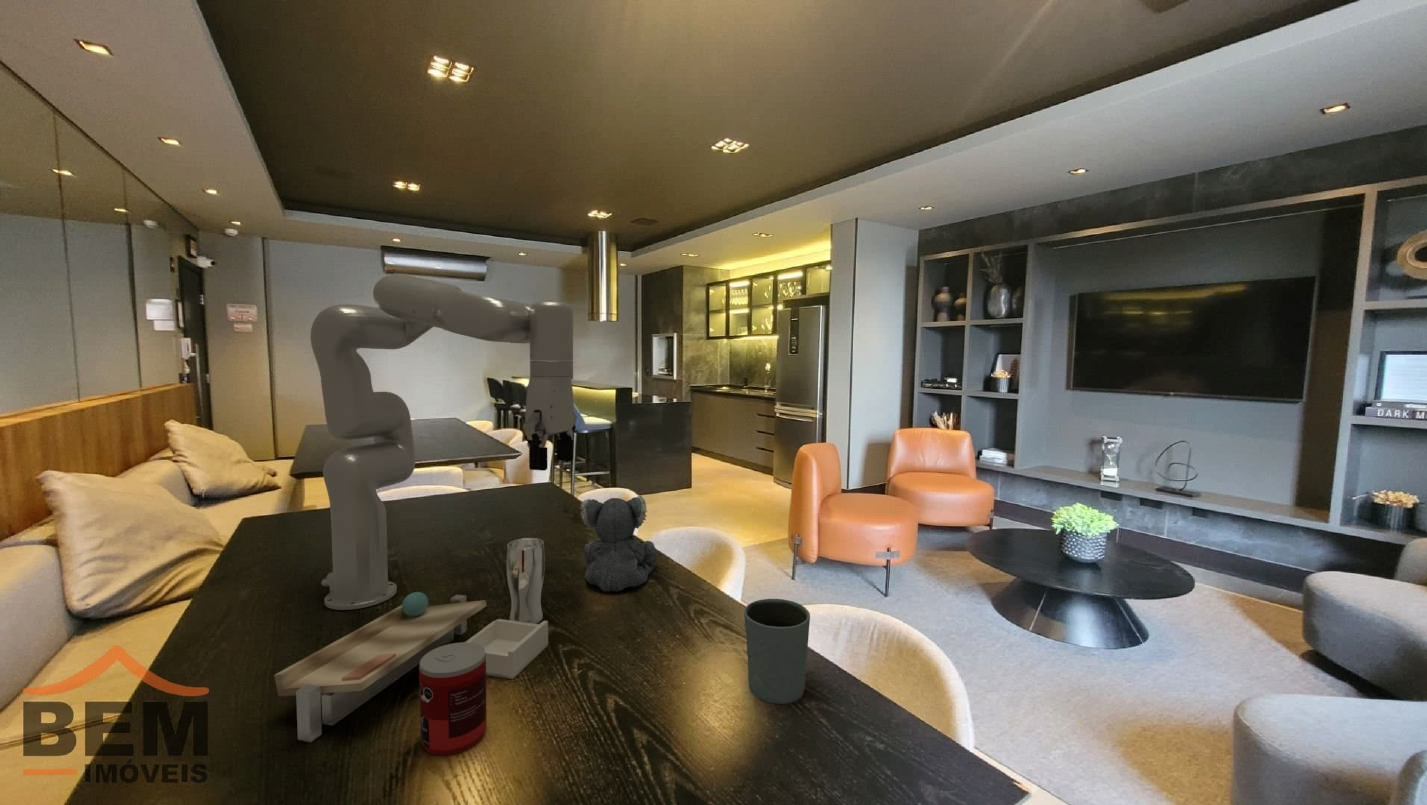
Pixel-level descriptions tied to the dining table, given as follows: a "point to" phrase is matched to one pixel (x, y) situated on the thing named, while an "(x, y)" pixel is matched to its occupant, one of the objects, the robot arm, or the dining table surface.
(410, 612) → the ball
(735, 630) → the dining table surface
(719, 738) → the dining table surface
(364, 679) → the lever
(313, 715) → the lever stand
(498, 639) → the white open box
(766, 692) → the dark green cup
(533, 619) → the beer glass
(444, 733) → the canned food
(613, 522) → the koala plush
